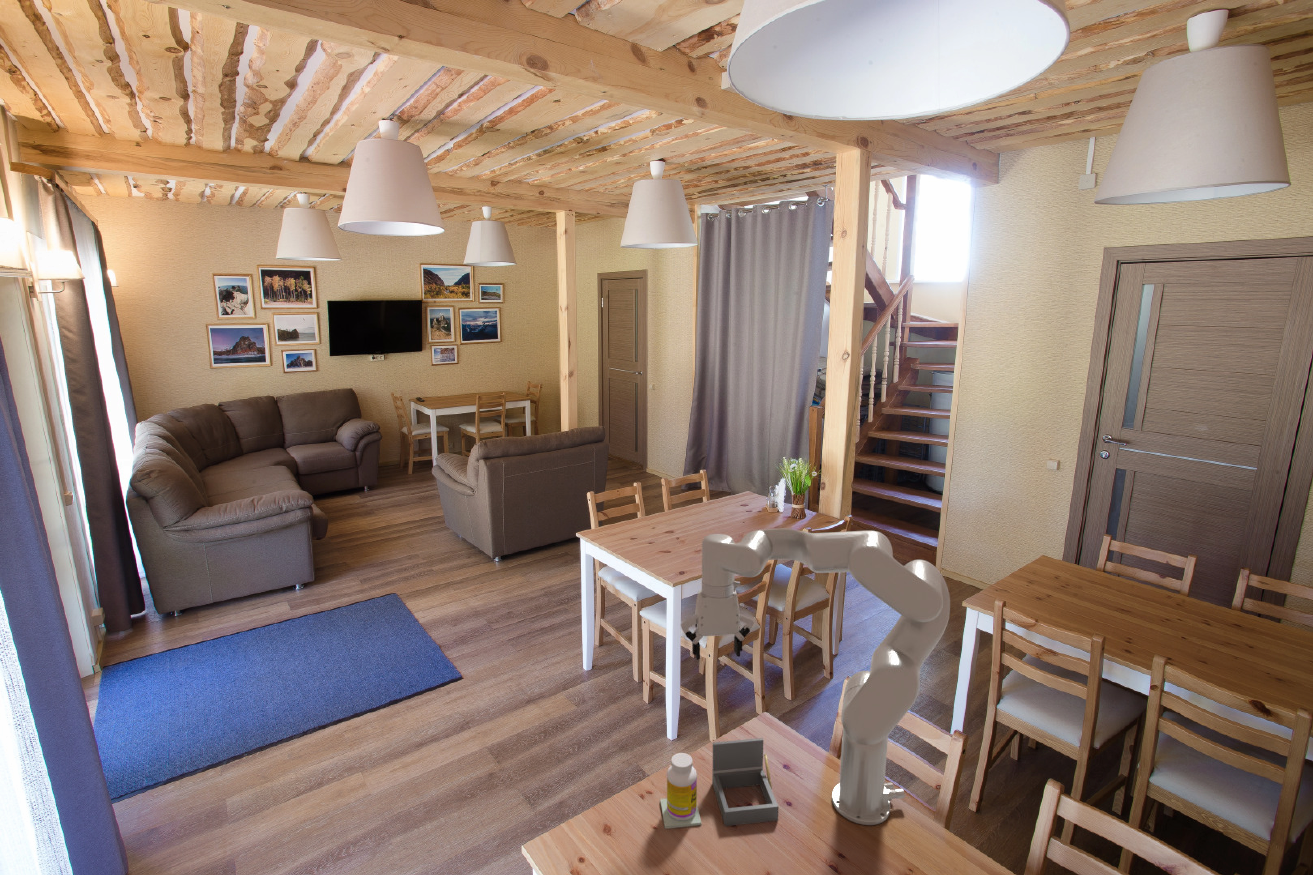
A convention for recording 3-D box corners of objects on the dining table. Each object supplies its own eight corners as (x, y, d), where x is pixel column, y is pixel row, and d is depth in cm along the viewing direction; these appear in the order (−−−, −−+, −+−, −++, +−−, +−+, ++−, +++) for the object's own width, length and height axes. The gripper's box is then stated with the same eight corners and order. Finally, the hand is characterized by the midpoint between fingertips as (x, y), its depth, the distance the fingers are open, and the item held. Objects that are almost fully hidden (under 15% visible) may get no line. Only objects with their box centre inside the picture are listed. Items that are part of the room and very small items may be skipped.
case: (765, 778, 153) (766, 737, 151) (782, 819, 140) (783, 775, 138) (712, 783, 151) (712, 742, 149) (724, 825, 139) (725, 781, 137)
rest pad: (694, 797, 147) (694, 795, 147) (701, 824, 139) (701, 822, 139) (660, 801, 146) (660, 798, 146) (665, 828, 138) (665, 826, 138)
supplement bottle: (694, 824, 139) (694, 772, 136) (664, 819, 140) (664, 768, 137) (698, 801, 145) (698, 751, 143) (669, 797, 146) (669, 747, 144)
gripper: (749, 578, 152) (748, 644, 156) (678, 583, 150) (678, 649, 153) (758, 592, 145) (757, 660, 148) (683, 596, 143) (683, 666, 146)
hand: (717, 655), depth 151 cm, fingers open, 9 cm apart
